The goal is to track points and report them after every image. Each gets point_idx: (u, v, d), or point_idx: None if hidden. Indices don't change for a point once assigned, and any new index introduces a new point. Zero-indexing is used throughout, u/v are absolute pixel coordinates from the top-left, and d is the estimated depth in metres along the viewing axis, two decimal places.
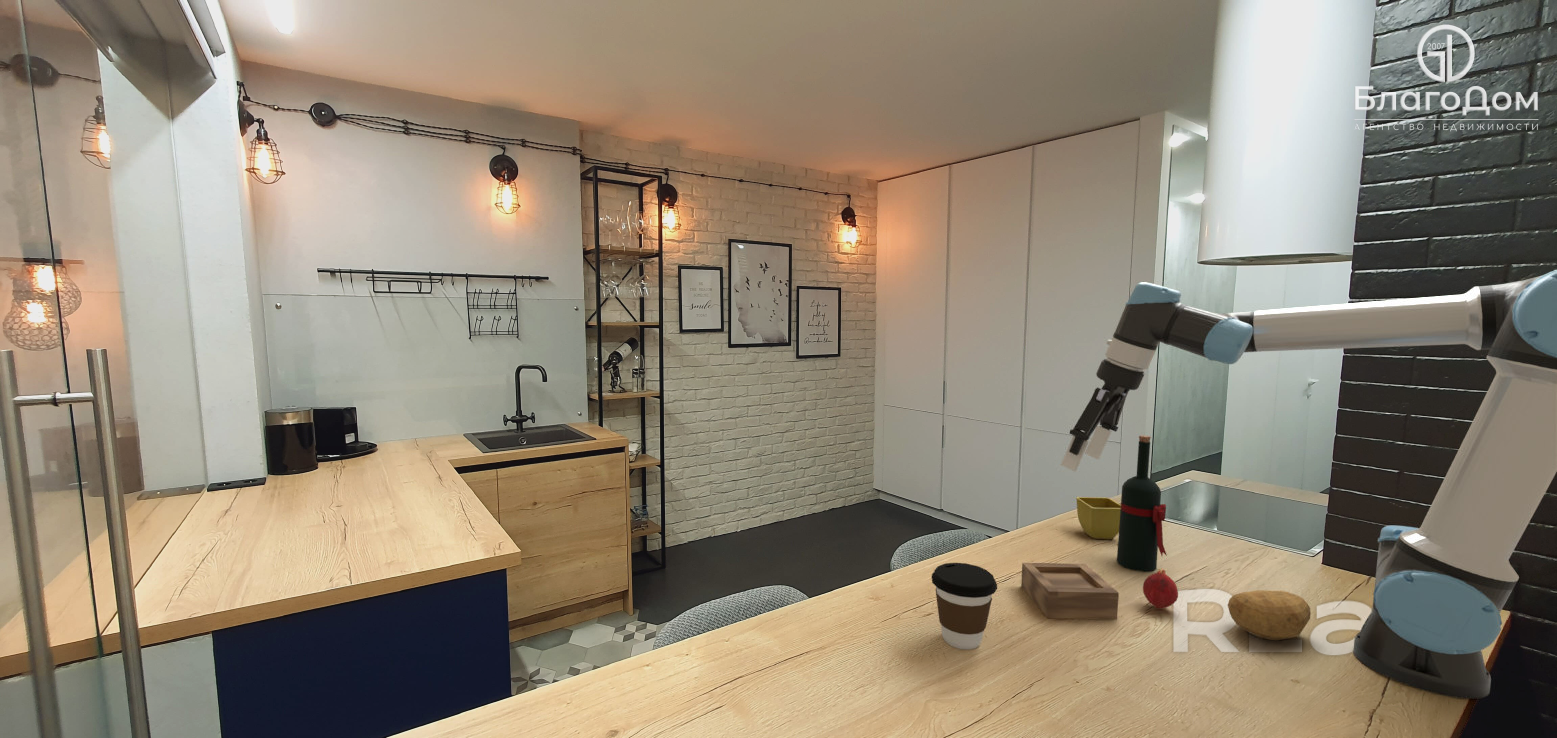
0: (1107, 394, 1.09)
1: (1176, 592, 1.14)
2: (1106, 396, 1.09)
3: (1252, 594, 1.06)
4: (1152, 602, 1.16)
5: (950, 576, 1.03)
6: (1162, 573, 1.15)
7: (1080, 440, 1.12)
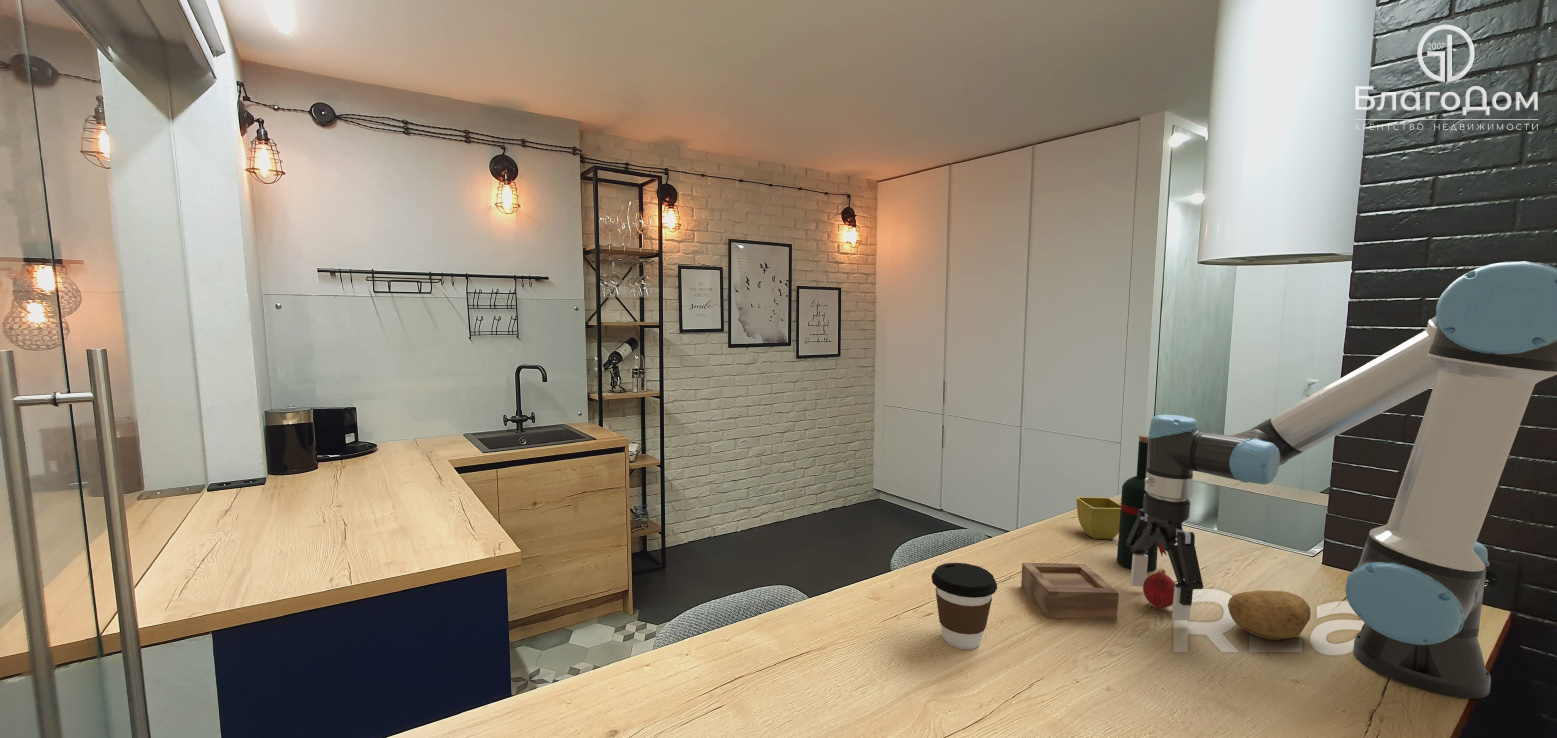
0: (1193, 535, 1.08)
1: None
2: (1193, 537, 1.08)
3: (1252, 594, 1.06)
4: (1152, 602, 1.16)
5: (950, 576, 1.03)
6: (1161, 573, 1.15)
7: (1191, 590, 1.08)
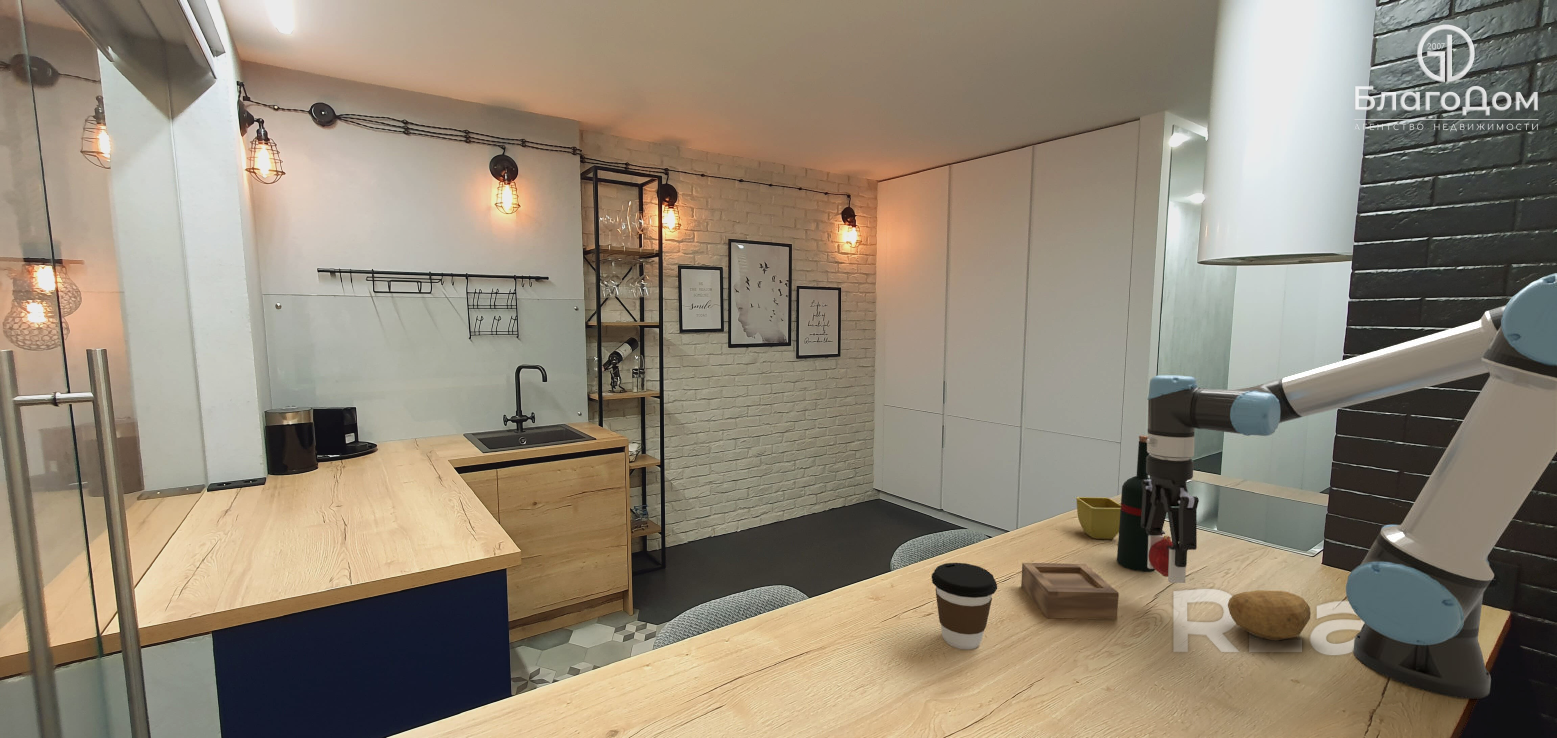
0: (1197, 500, 1.08)
1: None
2: (1197, 502, 1.08)
3: (1252, 594, 1.06)
4: (1158, 569, 1.14)
5: (950, 576, 1.03)
6: (1167, 540, 1.14)
7: (1185, 551, 1.10)
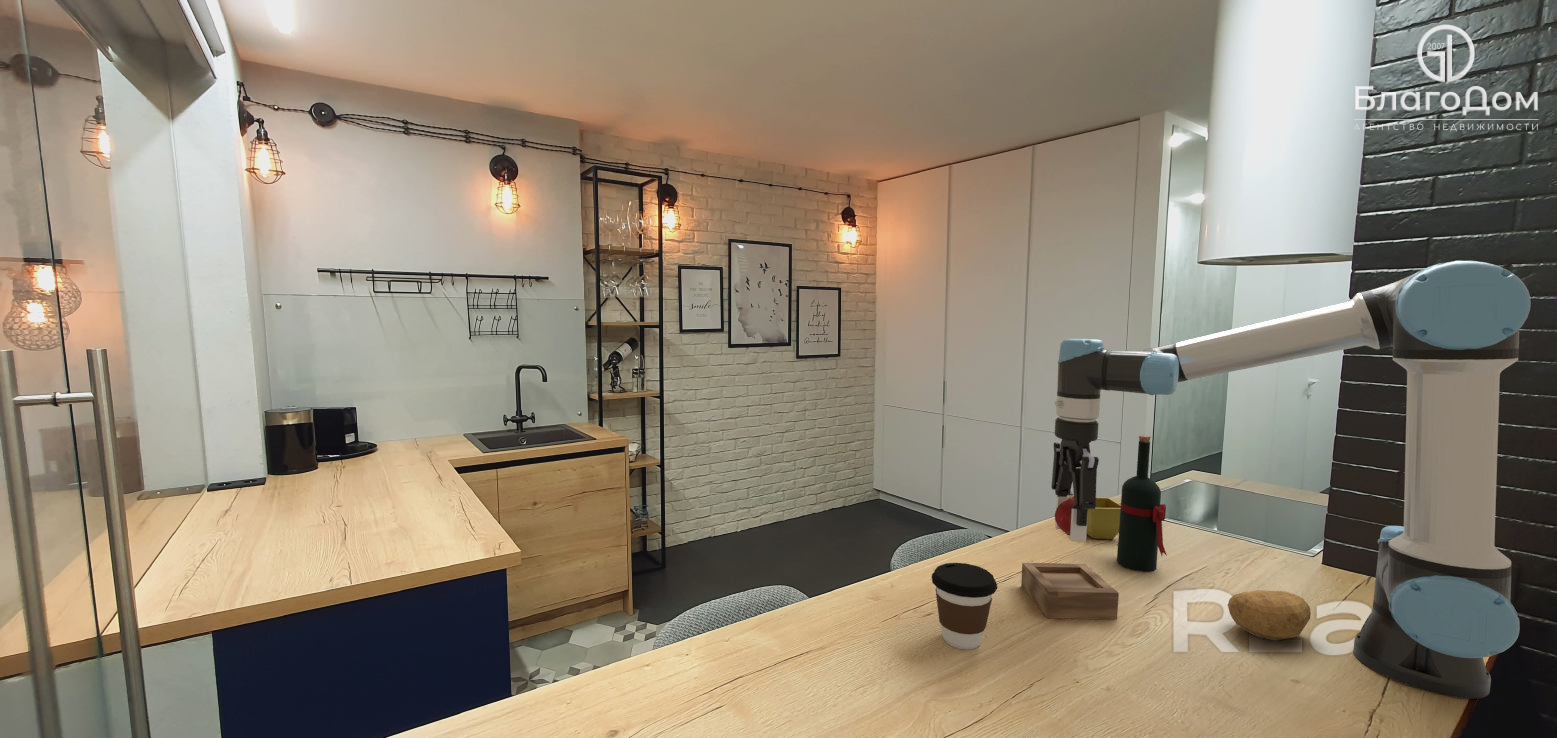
0: (1097, 460, 1.10)
1: None
2: (1097, 462, 1.10)
3: (1252, 594, 1.06)
4: (1062, 528, 1.17)
5: (950, 576, 1.03)
6: (1072, 500, 1.17)
7: (1085, 510, 1.12)
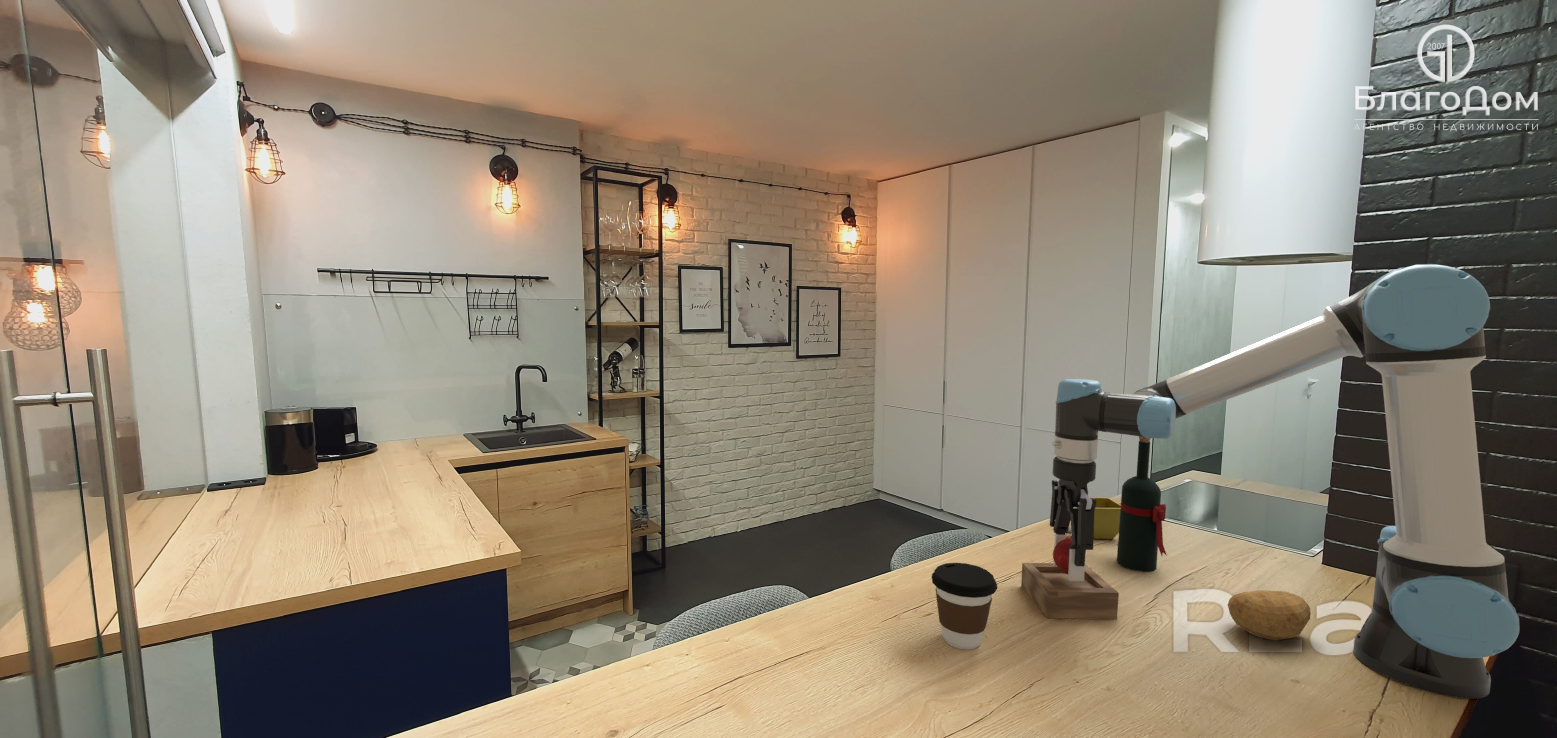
0: (1095, 502, 1.10)
1: None
2: (1094, 504, 1.10)
3: (1252, 594, 1.06)
4: (1060, 567, 1.17)
5: (950, 576, 1.03)
6: (1069, 539, 1.17)
7: (1083, 551, 1.13)
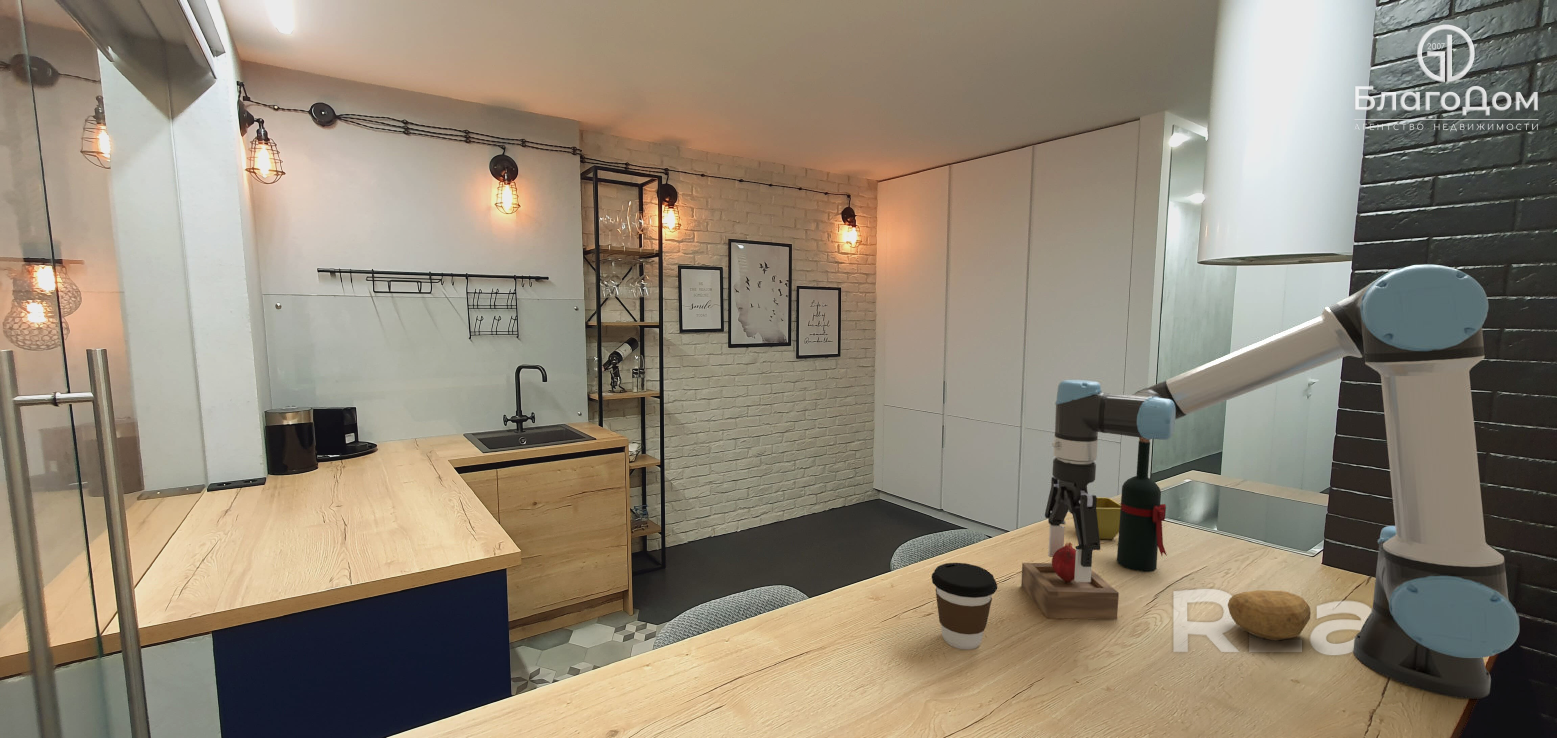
0: (1095, 498, 1.10)
1: None
2: (1095, 500, 1.10)
3: (1252, 594, 1.06)
4: (1059, 575, 1.18)
5: (950, 576, 1.03)
6: (1068, 547, 1.18)
7: (1090, 551, 1.10)
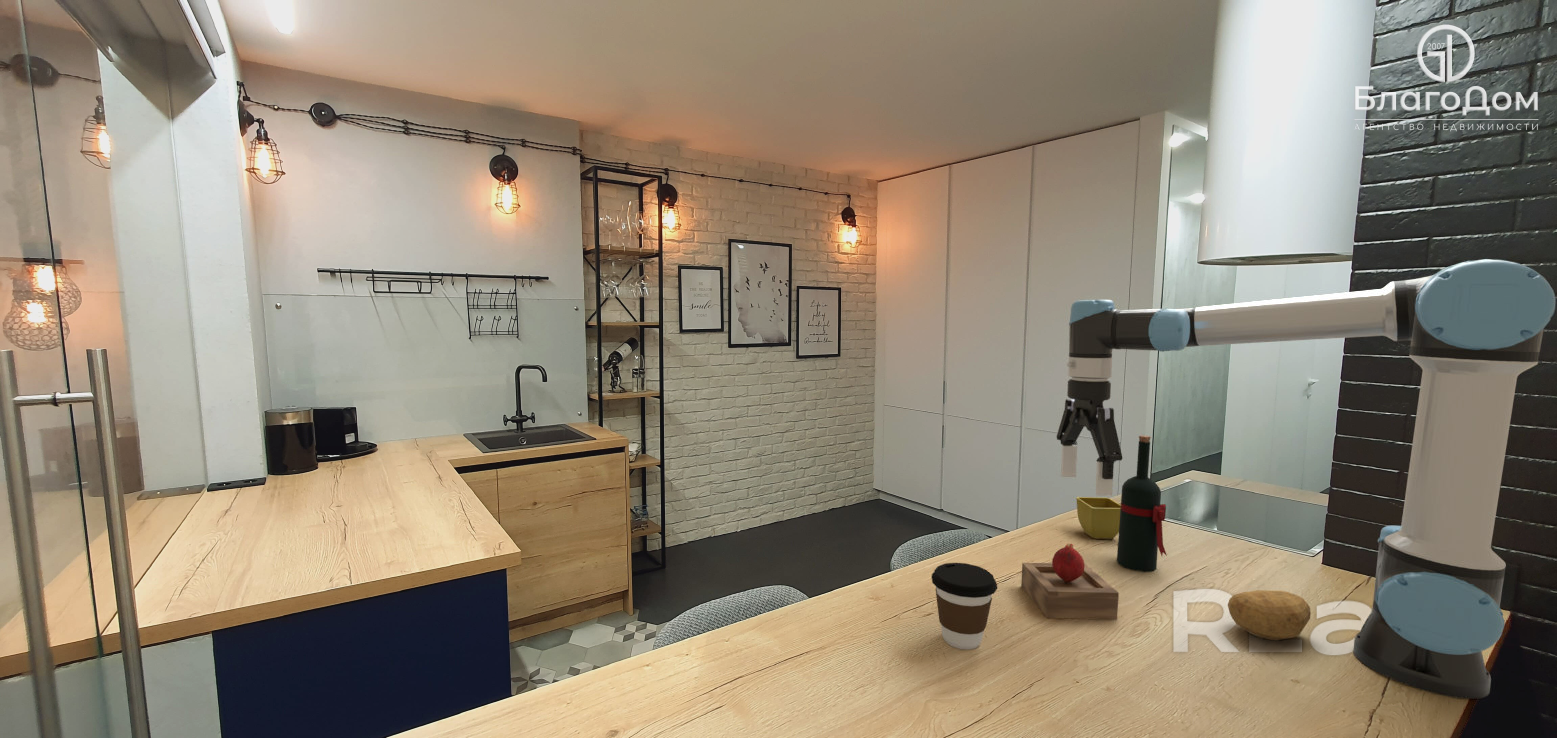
0: (1112, 410, 1.11)
1: (1082, 565, 1.16)
2: (1112, 412, 1.11)
3: (1252, 594, 1.06)
4: (1060, 575, 1.18)
5: (950, 576, 1.03)
6: (1069, 547, 1.18)
7: (1112, 463, 1.10)
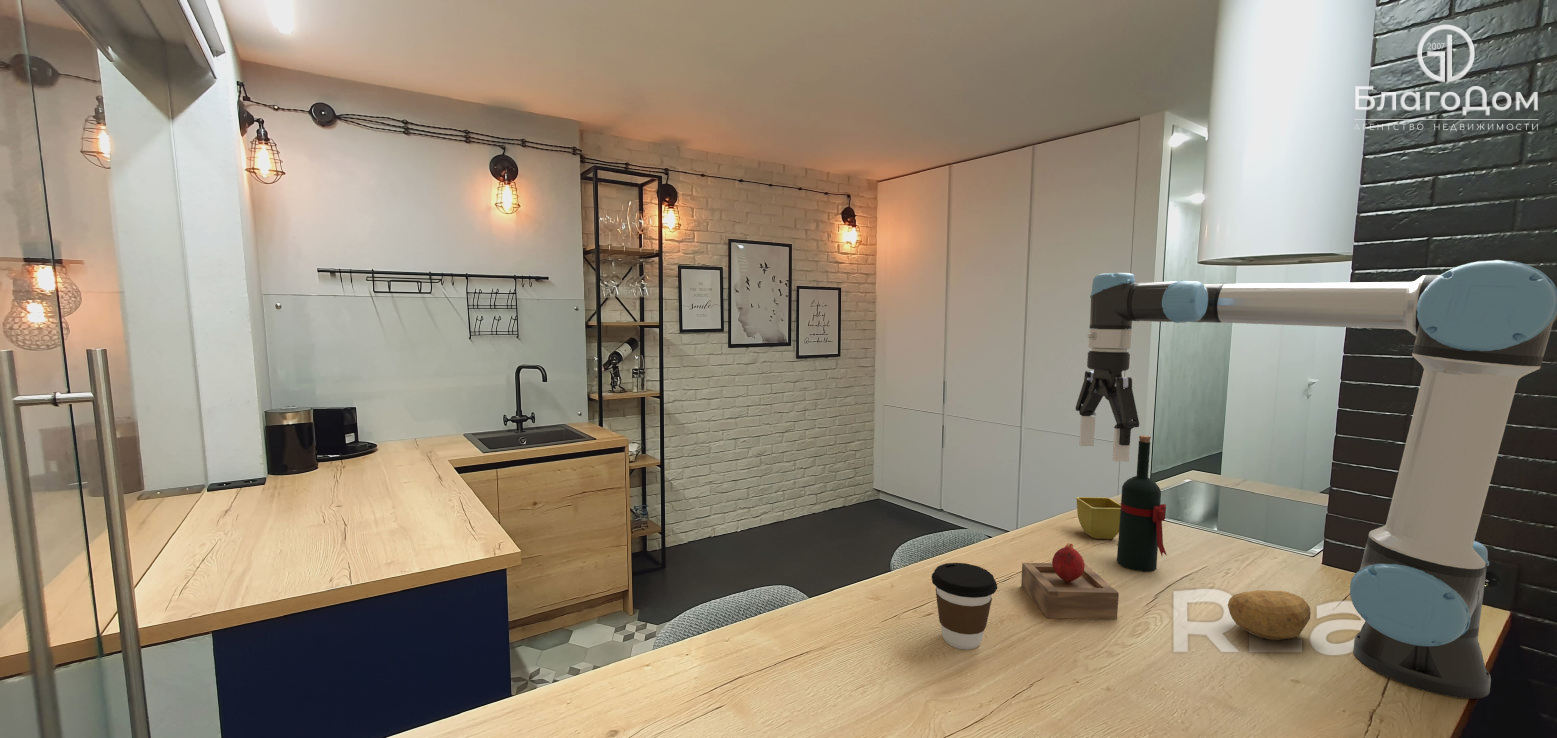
0: (1130, 379, 1.15)
1: (1082, 565, 1.16)
2: (1131, 381, 1.15)
3: (1252, 594, 1.06)
4: (1060, 575, 1.18)
5: (950, 576, 1.03)
6: (1069, 547, 1.18)
7: (1129, 430, 1.14)
